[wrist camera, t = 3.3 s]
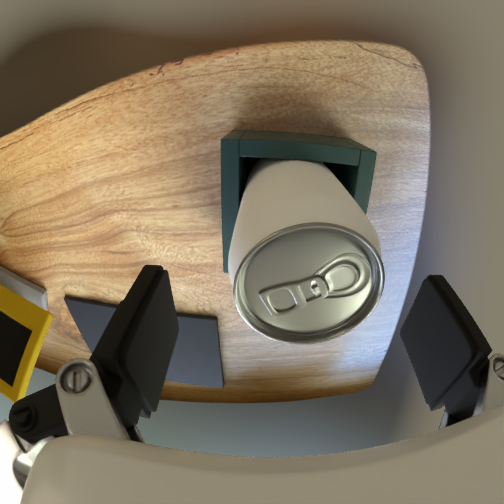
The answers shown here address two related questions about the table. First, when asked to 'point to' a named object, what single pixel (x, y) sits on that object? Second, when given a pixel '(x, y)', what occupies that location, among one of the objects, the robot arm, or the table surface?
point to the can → (303, 254)
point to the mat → (186, 348)
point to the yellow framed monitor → (20, 331)
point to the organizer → (289, 147)
